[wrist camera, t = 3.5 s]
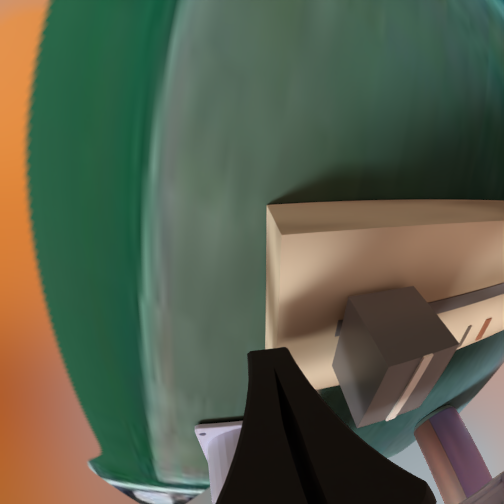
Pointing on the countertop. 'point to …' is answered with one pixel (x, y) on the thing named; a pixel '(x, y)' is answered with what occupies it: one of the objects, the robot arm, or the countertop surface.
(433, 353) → the fader
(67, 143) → the countertop surface
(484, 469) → the beverage can
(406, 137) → the countertop surface
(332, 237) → the console
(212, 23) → the countertop surface
